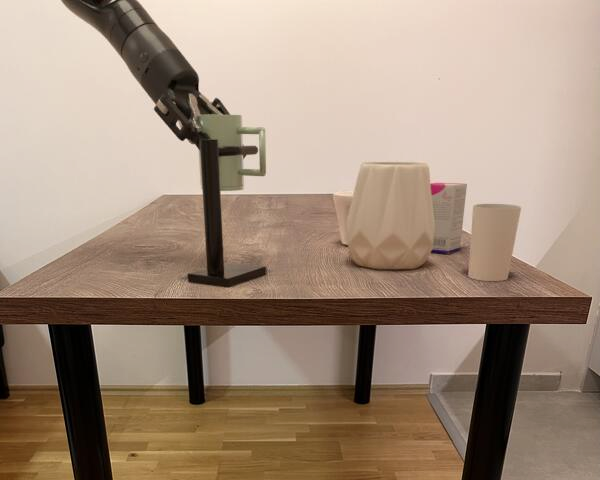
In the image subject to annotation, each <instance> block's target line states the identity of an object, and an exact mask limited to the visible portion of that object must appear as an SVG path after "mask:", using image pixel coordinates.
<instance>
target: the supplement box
mask: <svg viewBox="0 0 600 480" xmlns="http://www.w3.org/2000/svg"><path fill="white" fill-rule="evenodd" d="M430 186H431V195H432V203H433V212H434V222H435V231H434V239H433V249H432V251H431V253H432V254H442V255H450V254H453V253H456V252H459V251H460V250H461V244H462V234H463V225H464V215H465V207H466V206H465V205H466V197H467V188H468V184H467V183H462V182H461V183H459V182H432V183H431V182H430ZM431 253H430V254H431Z"/></svg>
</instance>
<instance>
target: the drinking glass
mask: <svg viewBox="0 0 600 480" xmlns="http://www.w3.org/2000/svg"><path fill="white" fill-rule="evenodd" d="M521 210H522V206H521V205H516V204H507V203H477V204H473V205H472V215H471V216H472V218H471V230H470V231H471V233H470V247H469V257H468V259H469V260H468V273H467V277H468V278H469V279H471V280H472V279H473V280H476V281H484V282H501V281H506V280H509V279H508V278H509V273H510V268H511V263H512V257H513V252H514V247H515V243H516V237H517V231H518V226H519V222H520V215H521Z"/></svg>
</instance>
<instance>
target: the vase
mask: <svg viewBox="0 0 600 480" xmlns="http://www.w3.org/2000/svg"><path fill="white" fill-rule="evenodd" d="M430 183H431V173H430V166H429V164H427V163H426V162H417V161H365V162H362V163H361V164H360V167H359V170H358V174H357V178H356V180H355V185H354V189H353V191H354V194H353V198H352V202H351V206H350V210H349V215H348V219H347V224H346V230H347V236H348V246H347V248H348V254H349V256H350V258H351V259H352V260H353V262H354V263H355V264H356V265H357V266H358V267H363V268H367V269H369V268H370V269H373V270H374V269H375V270H391V271H392V270H395V271H397V270H415V269H417V268H419V267H421V266H423V265H424V264H425V263H426V262H427V260H428V259H429V257H430V255H431V251H432V249H433V239H434V231H435V222H434V212H433V203H432V195H431V186H430Z"/></svg>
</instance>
